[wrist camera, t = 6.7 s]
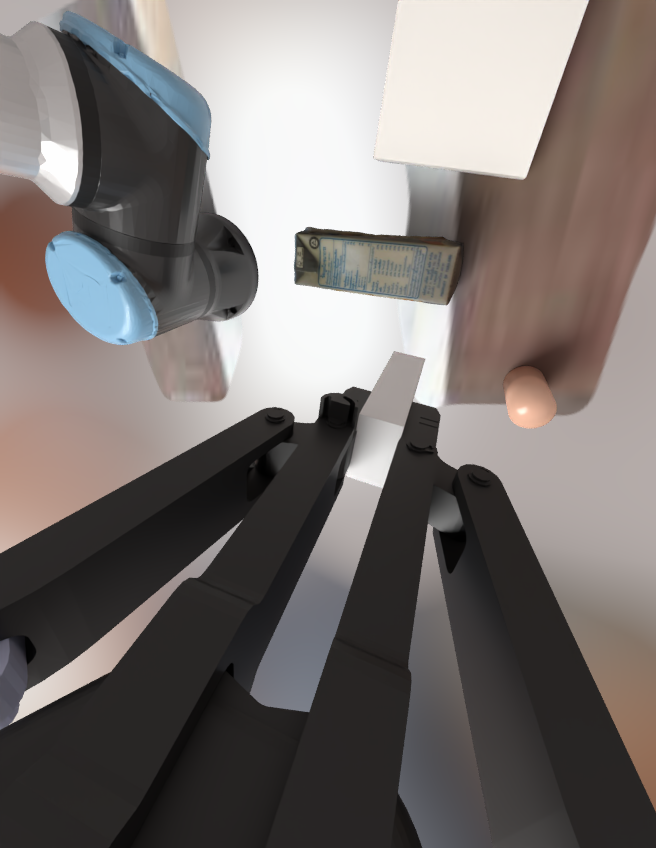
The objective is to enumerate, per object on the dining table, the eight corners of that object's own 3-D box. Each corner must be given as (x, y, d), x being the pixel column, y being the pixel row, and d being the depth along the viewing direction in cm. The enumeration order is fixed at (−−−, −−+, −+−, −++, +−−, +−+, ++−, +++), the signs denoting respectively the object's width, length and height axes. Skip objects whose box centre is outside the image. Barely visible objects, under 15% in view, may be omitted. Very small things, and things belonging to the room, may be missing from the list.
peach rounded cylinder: (497, 394, 50) (501, 421, 44) (511, 361, 48) (518, 385, 41) (535, 404, 49) (544, 433, 43) (551, 371, 47) (565, 396, 40)
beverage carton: (315, 276, 51) (318, 223, 47) (455, 296, 46) (469, 238, 42) (291, 286, 44) (292, 225, 41) (450, 310, 39) (467, 243, 36)
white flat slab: (378, 161, 42) (373, 157, 39) (426, -123, 31) (422, -152, 29) (522, 179, 38) (525, 177, 36) (631, -131, 28) (647, -164, 25)
